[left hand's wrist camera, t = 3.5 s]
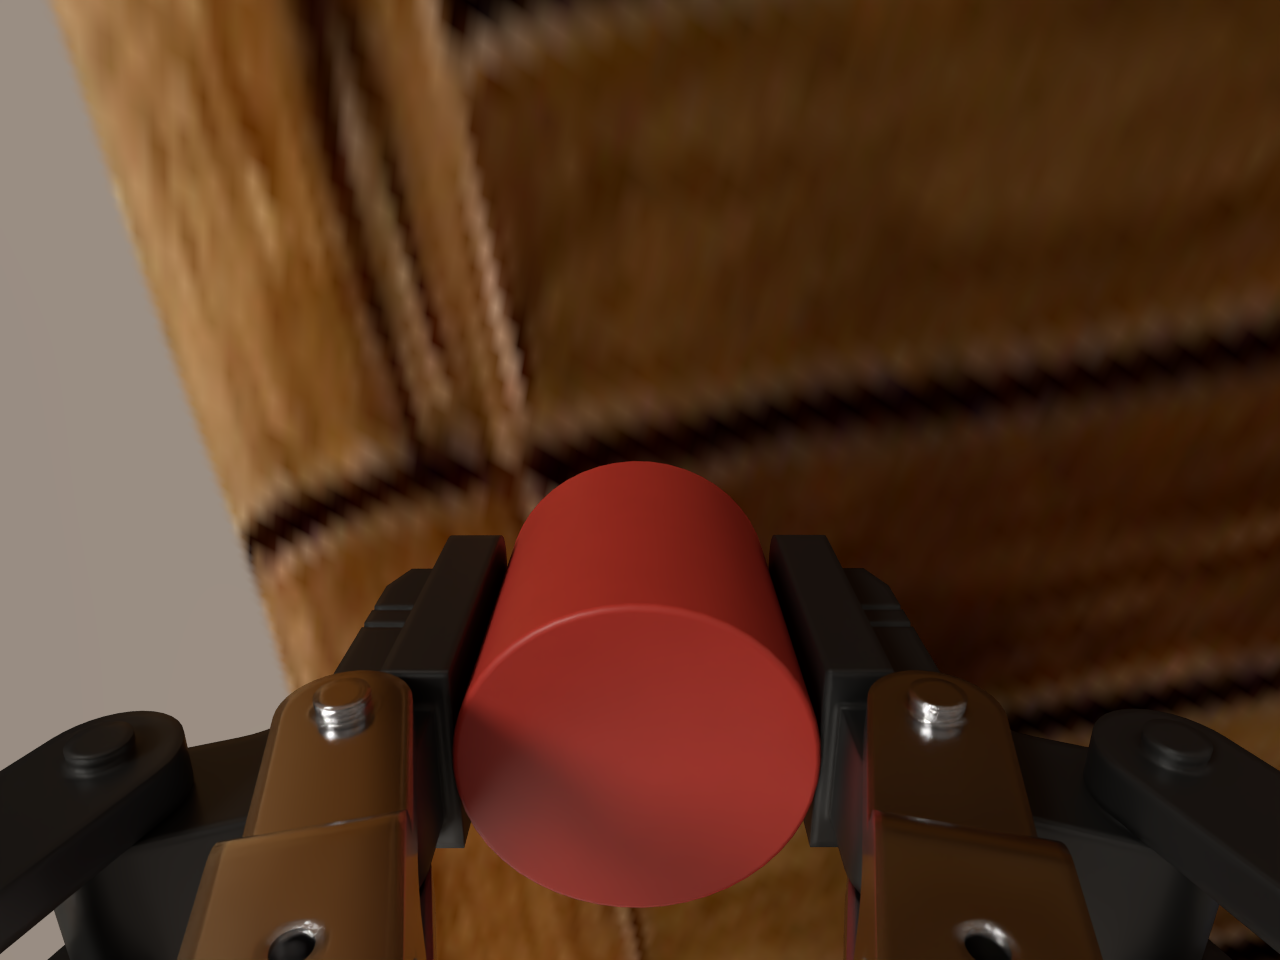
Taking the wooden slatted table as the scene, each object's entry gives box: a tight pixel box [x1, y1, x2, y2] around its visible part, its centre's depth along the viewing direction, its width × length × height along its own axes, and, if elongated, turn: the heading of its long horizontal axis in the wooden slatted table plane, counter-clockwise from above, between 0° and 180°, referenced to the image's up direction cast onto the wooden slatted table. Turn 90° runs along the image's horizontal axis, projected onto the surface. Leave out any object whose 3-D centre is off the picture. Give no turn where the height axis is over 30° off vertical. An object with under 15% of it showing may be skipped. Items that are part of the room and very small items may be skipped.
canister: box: [452, 461, 821, 908], centre depth 11 cm, size 4×4×4 cm
